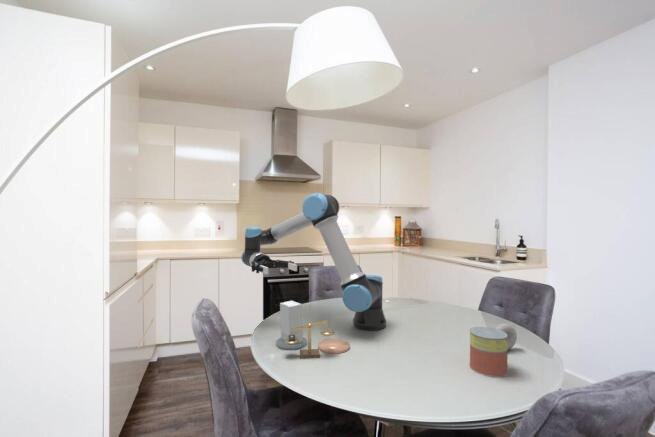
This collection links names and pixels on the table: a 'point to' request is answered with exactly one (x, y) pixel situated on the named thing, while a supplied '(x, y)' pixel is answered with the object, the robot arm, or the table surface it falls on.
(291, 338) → the balance
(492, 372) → the canned food
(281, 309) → the skincare box
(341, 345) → the terracotta dish
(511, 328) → the donut
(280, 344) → the slate dish
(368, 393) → the table surface
